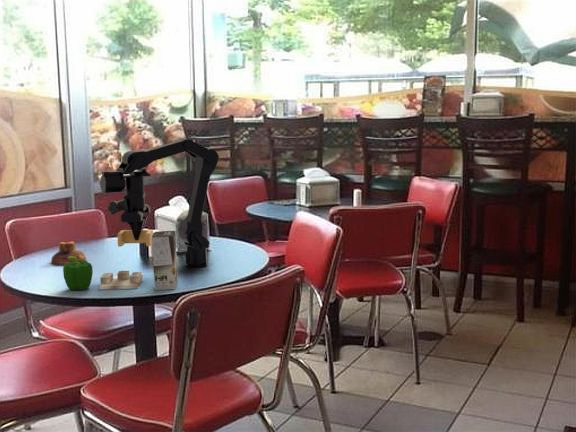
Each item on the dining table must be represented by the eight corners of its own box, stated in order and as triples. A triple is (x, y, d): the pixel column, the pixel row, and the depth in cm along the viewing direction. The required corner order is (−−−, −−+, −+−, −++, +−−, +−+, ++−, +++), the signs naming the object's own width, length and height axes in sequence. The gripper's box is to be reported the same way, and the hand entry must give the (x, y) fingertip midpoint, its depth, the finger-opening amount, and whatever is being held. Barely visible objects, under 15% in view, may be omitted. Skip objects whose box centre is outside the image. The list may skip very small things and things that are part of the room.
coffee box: (176, 289, 209) (173, 236, 206) (154, 290, 208) (151, 236, 205) (178, 281, 218) (175, 230, 215) (157, 282, 217) (154, 231, 214)
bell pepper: (96, 284, 216) (94, 252, 215) (89, 291, 208) (87, 258, 206) (69, 285, 216) (66, 253, 214) (61, 292, 208) (58, 259, 206)
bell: (44, 265, 244) (42, 244, 242) (63, 257, 255) (61, 237, 254) (75, 266, 241) (73, 245, 240) (92, 258, 252) (91, 238, 251)
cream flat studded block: (144, 278, 223) (143, 268, 222) (137, 288, 211) (137, 278, 210) (107, 279, 222) (107, 269, 222) (99, 289, 210) (98, 279, 210)
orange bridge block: (153, 241, 228) (153, 229, 227) (150, 246, 221) (149, 233, 221) (122, 242, 228) (121, 230, 227) (117, 246, 221) (117, 234, 221)
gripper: (115, 187, 233) (118, 234, 236) (102, 195, 215) (105, 245, 217) (149, 187, 233) (151, 233, 236) (139, 194, 215) (141, 245, 218)
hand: (137, 239), depth 227 cm, fingers closed on orange bridge block, 2 cm apart
